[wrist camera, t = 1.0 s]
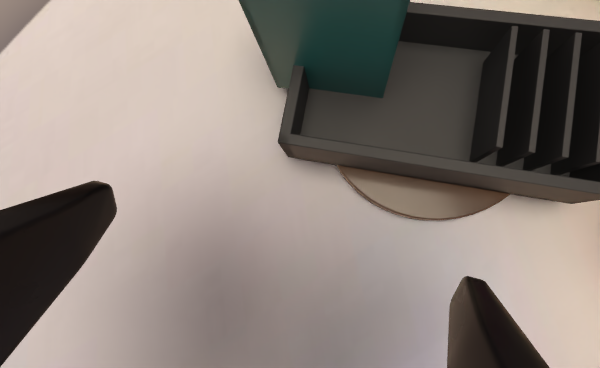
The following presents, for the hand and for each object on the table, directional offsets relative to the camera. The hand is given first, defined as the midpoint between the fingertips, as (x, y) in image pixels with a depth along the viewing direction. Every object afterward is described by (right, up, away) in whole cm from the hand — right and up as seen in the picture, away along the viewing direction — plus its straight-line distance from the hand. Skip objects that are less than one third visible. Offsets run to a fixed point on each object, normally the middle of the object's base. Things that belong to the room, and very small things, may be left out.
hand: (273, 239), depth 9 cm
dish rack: (+8, +6, +13) cm, 16 cm away
